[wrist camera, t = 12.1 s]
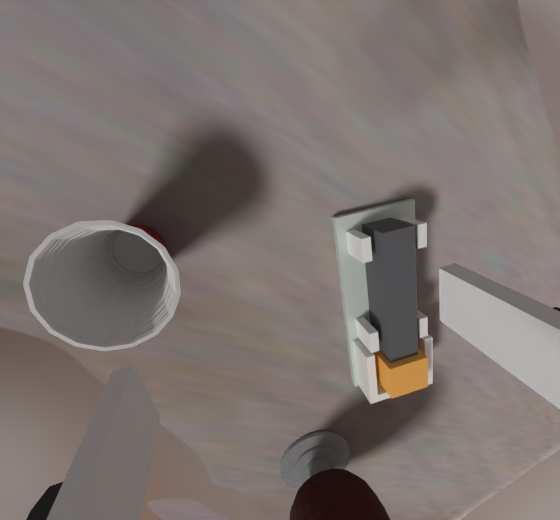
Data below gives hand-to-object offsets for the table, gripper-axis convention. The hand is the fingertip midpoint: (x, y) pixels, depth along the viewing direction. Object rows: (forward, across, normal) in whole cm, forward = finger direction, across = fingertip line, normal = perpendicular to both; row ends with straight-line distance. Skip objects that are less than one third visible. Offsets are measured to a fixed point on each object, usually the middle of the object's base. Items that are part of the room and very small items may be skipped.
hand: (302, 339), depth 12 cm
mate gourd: (+24, 0, -43) cm, 49 cm away
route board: (+24, +16, -17) cm, 33 cm away
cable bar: (+23, +16, -16) cm, 32 cm away
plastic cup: (+25, -12, 0) cm, 28 cm away
